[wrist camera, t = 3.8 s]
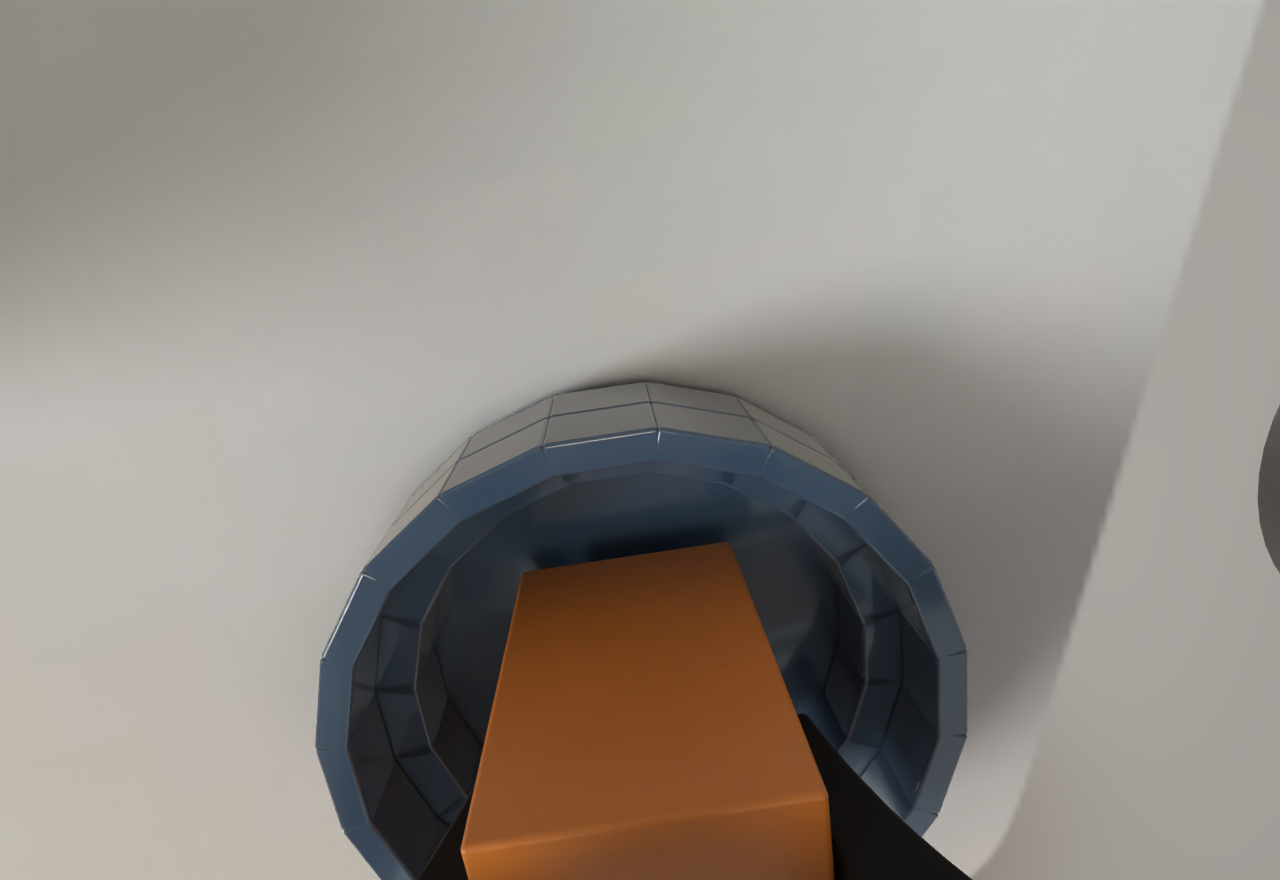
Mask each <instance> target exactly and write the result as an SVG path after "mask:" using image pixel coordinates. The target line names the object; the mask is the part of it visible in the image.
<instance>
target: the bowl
mask: <svg viewBox="0 0 1280 880" xmlns="http://www.w3.org/2000/svg"><path fill="white" fill-rule="evenodd" d="M722 542H729V543H730V544H731V546H732V549H733V551H734V554H735V557H736V559H737V562H738V564H739V567H740V569H741V572H742V575H743V577H744V580H745V582H746V585H747V587H748V590H749V592H750V595H751V598H752V600H753V603H754V605H755V608H756V610H757V613H758V616H759V618H760V621H761V623H762V626H763V628H764V631H765V634H766V636H767V639H768V641H769V644H770V646H771V649H772V651H773V654H774V657H775V659H776V662H777V664H778V667H779V669H780V672H781V675H782V677H783V680H784V682H785V685H786V687H787V690H788V693H789V695H790V698H791V700H792V703H793V705H794V708H795V710H796V713H797V714H802V713H804V714H805V715H807V716H808V717H810V718H811V720H812V721H813V722H814V724H815V725H816V726H817V728H818V729H819V730H820V731H821V733H822V734H823V735H824V736H825V738H826V739H827V740H828V741H829V743H830V744H831V745H832V746H833V747H834V748H835V750H836V751H837V752H838V753H839V754H840V755H841V757H842V758H843V759H844V760H845V761H846V762H847V763H848V765H849V766H850V767H851V768H852V769H853V770H854V771H855V772H856V773H857V774H858V775H859V777H860V778H861V779H862V780H863V781H864V782H865V783H866V784H867V785H868V786H869V787H870V788H871V789H872V790H873V791H874V792H875V793H876V794H877V795H878V796H879V797H880V798H881V799H882V800H883V801H884V802H885V803H886V804H887V805H888V806H889V807H890V808H891V809H892V810H893V811H894V812H895V813H896V814H897V815H898V816H899V817H900V818H901V819H902V820H903V821H904V822H905V823H906V824H908V825H909V826H910V827H911V828H912V829H913V830H914V831H915V832H916V833H917V834H918V835H919V836H921V837H922V836H923V835H924V833H925V832H926V831H927V830H928V828H929V827H930V826H931V824H932V823H933V822H934V820H935V819H936V818H937V817H938V813H939V812H940V809H941V807H942V804H943V801H944V798H945V796H946V793H947V790H948V787H949V785H950V782H951V779H952V776H953V774H954V771H955V768H956V765H957V762H958V760H959V757H960V754H961V751H962V749H963V746H964V743H965V740H966V733H967V651H966V649H965V648H966V645H965V642H964V639H963V637H962V634H961V632H960V629H959V627H958V624H957V622H956V619H955V617H954V614H953V612H952V609H951V607H950V604H949V602H948V599H947V597H946V594H945V592H944V589H943V587H942V584H941V582H940V579H939V577H938V574H937V572H936V569H935V567H934V566H933V565H932V562H931V561H930V560H929V559H928V558H927V557H926V556H925V555H924V554H923V552H922V551H921V550H920V549H919V548H918V547H917V546H916V545H915V544H914V543H913V542H912V541H911V540H910V539H909V537H908V536H907V535H906V534H905V533H904V532H903V531H902V530H901V529H900V528H899V527H898V526H897V525H896V524H895V522H894V521H893V520H892V519H891V518H890V517H889V516H888V515H887V514H886V513H885V512H884V511H883V510H882V509H881V507H880V506H879V505H878V504H877V503H876V502H875V501H874V500H873V499H872V498H871V497H870V496H869V495H868V494H867V493H866V492H865V491H864V489H863V488H862V487H861V486H860V485H859V484H858V483H857V482H856V481H855V480H854V479H853V478H852V477H851V476H850V475H849V474H848V473H847V472H846V471H845V470H844V469H843V468H842V467H841V466H840V465H839V463H838V462H837V461H836V460H835V459H834V458H833V457H832V456H831V455H830V454H829V453H828V452H827V451H826V450H825V449H824V448H823V447H822V446H821V445H820V444H819V443H818V442H817V441H816V440H815V439H813V438H812V437H811V436H810V435H809V434H807V433H805V432H803V431H801V430H800V429H798V428H796V427H794V426H792V425H790V424H788V423H786V422H784V421H782V420H780V419H778V418H777V417H775V416H773V415H771V414H769V413H767V412H765V411H763V410H761V409H759V408H757V407H755V406H753V405H752V404H750V403H748V402H746V401H744V400H742V399H740V398H738V397H734V396H732V395H725V394H719V393H713V392H707V391H701V390H695V389H688V388H682V387H676V386H670V385H664V384H658V383H651V382H646V384H645V383H644V382H639V383H633V384H626V385H619V386H612V387H606V388H599V389H592V390H585V391H579V392H572V393H565V394H559V395H556V396H555V397H549V398H547V399H545V400H543V401H541V402H539V403H537V404H535V405H533V406H531V407H529V408H527V409H525V410H523V411H521V412H519V413H517V414H515V415H513V416H511V417H508V418H506V419H504V420H502V421H500V422H498V423H496V424H494V425H492V426H490V427H488V428H486V429H484V430H482V431H480V432H478V433H476V434H475V435H474V436H473V437H470V438H469V439H468V440H467V441H466V442H465V443H464V444H463V445H462V446H461V447H460V448H459V449H458V450H457V451H456V452H455V453H454V454H453V455H452V456H451V457H450V458H449V459H448V460H447V461H446V462H445V463H444V464H443V465H442V466H441V467H440V468H439V469H438V470H437V471H436V472H435V473H434V474H433V475H432V476H431V477H430V478H429V479H428V480H427V481H426V482H425V483H424V484H423V485H421V486H420V487H419V488H418V489H417V490H416V491H415V492H414V493H413V495H412V496H411V498H410V499H409V500H408V502H407V503H406V505H405V506H404V508H403V509H402V511H401V513H400V514H399V516H398V517H397V519H396V520H395V522H394V523H393V525H392V526H391V528H390V529H389V530H388V532H387V533H386V535H385V536H384V538H383V539H382V541H381V542H380V544H379V545H378V547H377V548H376V550H375V552H374V553H373V555H372V556H371V558H370V559H369V561H368V562H367V564H366V565H365V567H364V568H363V570H362V571H361V573H360V575H359V577H358V579H357V581H356V583H355V585H354V588H353V590H352V592H351V594H350V596H349V598H348V600H347V603H346V605H345V607H344V609H343V611H342V613H341V615H340V617H339V620H338V622H337V624H336V626H335V628H334V630H333V632H332V634H331V637H330V639H329V641H328V643H327V645H326V647H325V649H324V651H323V654H322V659H321V660H320V675H319V691H318V708H317V725H316V742H315V747H316V748H317V755H318V758H319V761H320V764H321V767H322V770H323V773H324V776H325V779H326V782H327V785H328V788H329V791H330V794H331V797H332V800H333V803H334V806H335V809H336V812H337V815H338V818H339V821H340V824H341V827H342V829H343V830H344V834H345V835H346V836H347V838H348V839H349V840H350V841H351V843H352V844H353V845H354V846H355V848H356V849H357V850H358V851H359V853H360V854H361V855H362V856H363V858H364V859H365V860H366V861H367V863H368V864H369V865H370V867H371V868H372V869H373V870H374V872H375V873H376V874H377V875H378V877H379V878H380V879H381V880H416V879H417V878H418V876H419V875H420V874H421V872H422V871H423V869H424V867H425V866H426V864H427V863H428V861H429V860H430V858H431V856H432V855H433V853H434V852H435V850H436V848H437V847H438V845H439V844H440V842H441V840H442V839H443V837H444V836H445V834H446V832H447V831H448V829H449V828H450V826H451V824H452V822H453V821H454V819H455V817H456V816H457V814H458V812H459V810H460V809H461V807H462V805H463V804H464V802H465V800H466V798H467V797H468V795H469V793H470V791H471V789H472V788H473V786H474V784H475V782H476V778H477V773H478V769H479V764H480V760H481V755H482V751H483V746H484V742H485V737H486V733H487V728H488V724H489V719H490V715H491V710H492V706H493V701H494V697H495V692H496V688H497V683H498V679H499V674H500V670H501V666H502V661H503V657H504V652H505V648H506V643H507V639H508V634H509V630H510V625H511V621H512V616H513V612H514V607H515V603H516V598H517V594H518V589H519V585H520V580H521V576H522V573H524V572H527V571H534V570H540V569H547V568H554V567H561V566H567V565H574V564H581V563H587V562H594V561H601V560H608V559H614V558H621V557H628V556H634V555H641V554H648V553H654V552H661V551H668V550H675V549H681V548H688V547H695V546H701V545H708V544H715V543H722Z"/></svg>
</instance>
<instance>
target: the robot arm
mask: <svg viewBox="0 0 1280 880" xmlns="http://www.w3.org/2000/svg"><path fill="white" fill-rule="evenodd" d="M797 716H798V718H799V721H800V723H801V726H802V728H803V731H804V734H805V736H806V739H807V741H808V744H809V746H810V749H811V752H812V754H813V757H814V759H815V762H816V764H817V767H818V769H819V772H820V775H821V777H822V780H823V782H824V785H825V787H826V790H827V793H828V798H829V811H830V824H831V837H832V851H833V864H834V877H835V880H972V879H971V878H970V877H968V876H967V875H966V874H965V873H963V872H962V871H961V870H960V869H958V868H957V867H956V866H955V865H953V864H952V863H951V862H950V861H948V860H947V859H946V858H945V857H944V856H942V855H941V854H940V853H939V852H938V851H936V850H935V849H934V848H933V847H932V846H931V845H930V844H928V843H927V842H926V841H925V840H924V839H923V838H922V837H921V836H919V835H918V834H917V833H916V832H915V831H914V830H913V829H912V828H911V827H910V826H909V825H908V824H906V823H905V822H904V821H903V820H902V819H901V818H900V817H899V816H898V815H897V814H896V813H895V812H894V811H893V810H892V809H891V808H890V807H889V806H888V805H887V804H886V803H885V802H884V801H883V800H882V799H881V798H880V797H879V796H878V795H877V794H876V793H875V792H874V791H873V790H872V789H871V788H870V787H869V786H868V785H867V784H866V783H865V782H864V781H863V780H862V779H861V778H860V777H859V775H858V774H857V773H856V772H855V771H854V770H853V769H852V768H851V767H850V766H849V765H848V763H847V762H846V761H845V760H844V759H843V758H842V757H841V755H840V754H839V753H838V752H837V751H836V750H835V748H834V747H833V746H832V745H831V744H830V743H829V741H828V740H827V739H826V738H825V736H824V735H823V734H822V733H821V731H820V730H819V729H818V728H817V726H816V725H815V724H814V722H813V721H812V720H811V718H810V717H808V716H807V715H805V714H804V713H802V714H797ZM474 787H475V784H474V786H473V788H472V789H471V791H470V793H469V795H468V797H467V798H466V800H465V802H464V804H463V805H462V807H461V809H460V810H459V812H458V814H457V816H456V817H455V819H454V821H453V822H452V824H451V826H450V828H449V829H448V831H447V832H446V834H445V836H444V837H443V839H442V840H441V842H440V844H439V845H438V847H437V848H436V850H435V852H434V853H433V855H432V856H431V858H430V860H429V861H428V863H427V864H426V866H425V867H424V869H423V871H422V872H421V874H420V875H419V876H418V878H417V879H416V880H468V876H467V872H466V869H465V865H464V861H463V858H462V854H461V845H462V841H463V836H464V832H465V827H466V823H467V818H468V814H469V809H470V805H471V800H472V796H473V791H474Z"/></svg>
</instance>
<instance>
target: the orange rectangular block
mask: <svg viewBox="0 0 1280 880" xmlns="http://www.w3.org/2000/svg"><path fill="white" fill-rule="evenodd" d="M461 854H462V858H463V861H464V865H465V869H466V872H467V876H468V880H835V877H834V864H833V851H832V837H831V824H830V811H829V798H828V793H827V790H826V787H825V785H824V782H823V780H822V777H821V775H820V772H819V769H818V767H817V764H816V762H815V759H814V757H813V754H812V752H811V749H810V746H809V744H808V741H807V739H806V736H805V734H804V731H803V728H802V726H801V723H800V721H799V718H798V716H797V713H796V710H795V708H794V705H793V703H792V700H791V698H790V695H789V693H788V690H787V687H786V685H785V682H784V680H783V677H782V675H781V672H780V669H779V667H778V664H777V662H776V659H775V657H774V654H773V651H772V649H771V646H770V644H769V641H768V639H767V636H766V634H765V631H764V628H763V626H762V623H761V621H760V618H759V616H758V613H757V610H756V608H755V605H754V603H753V600H752V598H751V595H750V592H749V590H748V587H747V585H746V582H745V580H744V577H743V575H742V572H741V569H740V567H739V564H738V562H737V559H736V557H735V554H734V551H733V549H732V546H731V544H730V543H729V542H722V543H715V544H708V545H701V546H695V547H688V548H681V549H675V550H668V551H661V552H654V553H648V554H641V555H634V556H628V557H621V558H614V559H608V560H601V561H594V562H587V563H581V564H574V565H567V566H561V567H554V568H547V569H540V570H534V571H527V572H524V573H522V576H521V580H520V585H519V589H518V594H517V598H516V603H515V607H514V612H513V616H512V621H511V625H510V630H509V634H508V639H507V643H506V648H505V652H504V657H503V661H502V666H501V670H500V674H499V679H498V683H497V688H496V692H495V697H494V701H493V706H492V710H491V715H490V719H489V724H488V728H487V733H486V737H485V742H484V746H483V751H482V755H481V760H480V764H479V769H478V773H477V778H476V782H475V787H474V791H473V796H472V800H471V805H470V809H469V814H468V818H467V823H466V827H465V832H464V836H463V841H462V845H461Z"/></svg>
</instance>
